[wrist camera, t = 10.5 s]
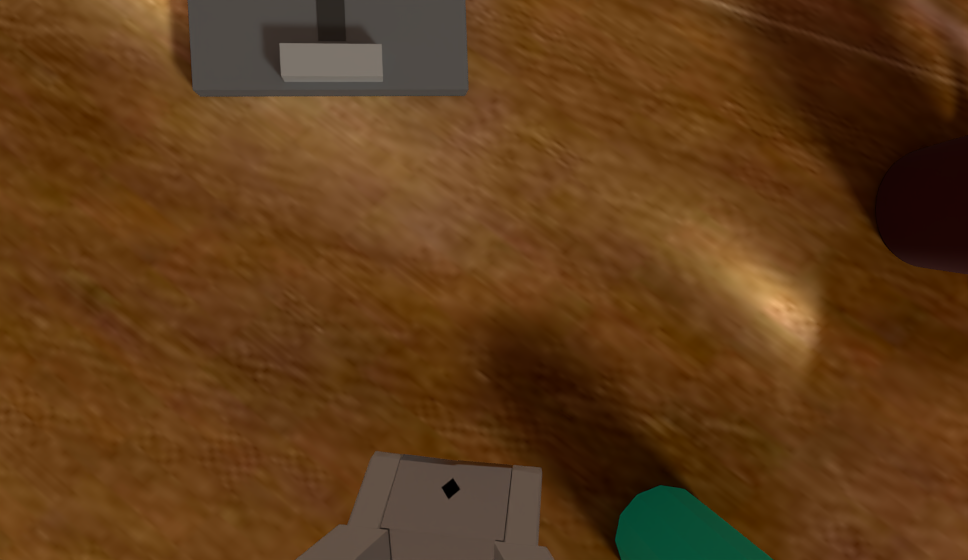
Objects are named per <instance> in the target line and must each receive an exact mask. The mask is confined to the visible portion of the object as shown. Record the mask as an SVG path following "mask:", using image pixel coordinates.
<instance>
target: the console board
mask: <svg viewBox="0 0 968 560" xmlns="http://www.w3.org/2000/svg"><path fill="white" fill-rule="evenodd" d="M188 15H189V32H190V50H191V67H192V85H193V90H194V91H195V92H196V93H197V94H198V95H200V96H465V95H466V93H467V91H468V64H467V36H466V9H465V0H188Z"/></svg>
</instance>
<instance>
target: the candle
mask: <svg viewBox="0 0 968 560" xmlns="http://www.w3.org/2000/svg"><path fill="white" fill-rule="evenodd" d="M615 542H616V545H617V548H618V551H619V554H620V557H621V560H773V559H772V558H771V557H769V556H768V555H767V554H766V553H764V552H763V551H762V550H761V549H759V548H758V547H757V546H756V545H754V544H753V543H752V542H751V541H749V540H748V539H747V538H746V537H744V536H743V535H742V534H741V533H739V532H738V531H737V530H736V529H734V528H733V527H732V526H731V525H729V524H728V523H727V522H726V521H724V520H723V519H722V518H721V517H719V516H718V515H717V514H716V513H714V512H713V511H712V510H711V509H709V508H708V507H707V506H706V505H704V504H703V503H702V502H700V501H699V500H698V499H697V498H695V497H694V496H693V495H692V494H690V493H689V492H688V491H687V490H685V489H682V488H676V487H669V486H663V485H660V486H657V487H655V488H652V489H650V490H647V491H645V492H642V493H640V494H637V495H636V496H635V498H634V499H633V500H632V501H631V502H630V504H629V505H628V506H627V507H626V508H625V510H624V511H623V512H622V513H621V514H620V518H619V523H618V528H617V533H616V537H615Z"/></svg>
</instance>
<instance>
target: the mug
mask: <svg viewBox="0 0 968 560" xmlns="http://www.w3.org/2000/svg"><path fill="white" fill-rule="evenodd" d="M876 219H877V225H878V228H879V231H880V234H881V236H882V239H883V240H884V242H885V244H886V245H887V247H888V248H889V249H890V250H891V251H892V253H894V254H895V255H896V256H897V257H898V258H900V259H901V260H903V261H904V262H906V263H908V264H911V265H914V266H918V267H923V268H929V269H936V270H943V271H950V272H956V273H963V274H968V135H967V136H963V137H960V138H956V139H953V140H950V141H946V142H943V143H940V144H936V145H933V146H929V147H926V148H923V149H920V150H917V151H914V152H911V153H909V154H907V155H905V156H903V157H902V158H901V159H899V160H898V161H897V162H896V163H895V164H894V165H893V166H892V167H891V168H890V169H889V171H888V172H887V173H886V175H885V177H884V178H883V180H882V183H881V185H880V188H879V191H878V194H877V200H876Z"/></svg>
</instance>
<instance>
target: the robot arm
mask: <svg viewBox="0 0 968 560" xmlns="http://www.w3.org/2000/svg"><path fill="white" fill-rule="evenodd" d="M541 483H542V469H541V468H539V467H528V466H517V465H508V464H496V463H485V462H473V461H462V460H458V461H455V460H447V459H439V458H431V457H423V456H415V455H406V454H394V453H386V452H378V451H376V452H375V453H374V455H373V456H372V457H371V459H370V462H369V465H368V468H367V471H366V473H365V476H364V479H363V482H362V485H361V488H360V490H359V493H358V496H357V499H356V502H355V505H354V507H353V510H352V513H351V516H350V519H349V522H348V524H347V525H338V526H337V527H335V528H334V529H333V530H332V531H330V532H329V533H328V534H327V535H325V536H324V537H323V538H322V539H320V540H319V541H318V542H317V543H316V544H314V545H313V546H312V547H311V548H309V549H308V550H307V551H306V552H304V553H303V554H302V555H301V556H299V557H298V558H297V559H296V560H554V558H553V557H552V555H551V554H550V552H549V550H548V549H547V547H542V546H538V534H539V517H540V500H541Z"/></svg>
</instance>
